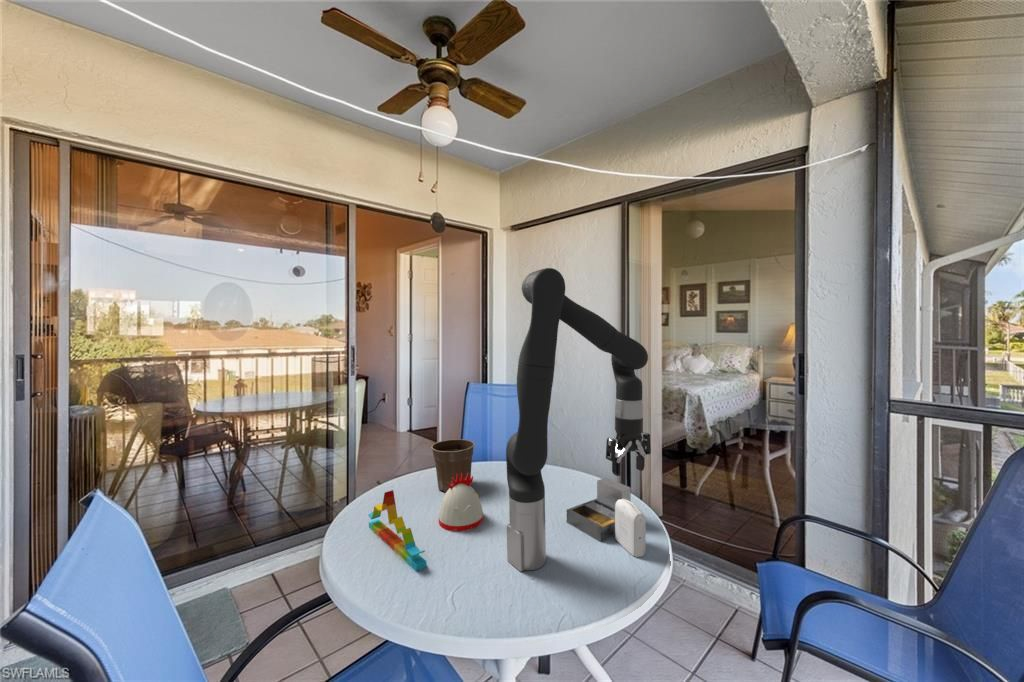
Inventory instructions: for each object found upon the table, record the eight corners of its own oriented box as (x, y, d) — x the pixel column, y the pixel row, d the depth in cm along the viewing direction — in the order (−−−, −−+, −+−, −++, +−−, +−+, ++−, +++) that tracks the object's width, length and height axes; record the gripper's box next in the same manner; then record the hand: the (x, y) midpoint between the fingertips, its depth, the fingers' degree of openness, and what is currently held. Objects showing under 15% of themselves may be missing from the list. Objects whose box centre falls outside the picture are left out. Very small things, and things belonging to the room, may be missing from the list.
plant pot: (430, 481, 161) (429, 441, 160) (470, 476, 165) (469, 436, 165) (435, 498, 145) (433, 453, 144) (479, 492, 150) (478, 448, 149)
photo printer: (648, 555, 107) (648, 509, 107) (634, 559, 106) (633, 512, 106) (626, 536, 117) (625, 494, 117) (612, 539, 116) (612, 496, 115)
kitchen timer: (487, 527, 124) (486, 478, 124) (441, 534, 120) (440, 484, 120) (478, 507, 138) (477, 463, 137) (436, 513, 134) (435, 468, 133)
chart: (427, 567, 105) (425, 510, 104) (416, 572, 103) (414, 514, 102) (379, 524, 128) (377, 477, 127) (368, 527, 126) (367, 480, 125)
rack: (600, 542, 114) (600, 503, 114) (566, 522, 126) (566, 487, 126) (640, 524, 124) (639, 488, 124) (605, 507, 136) (604, 474, 135)
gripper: (618, 420, 107) (618, 481, 108) (658, 414, 114) (657, 472, 114) (599, 415, 114) (599, 472, 114) (638, 409, 120) (637, 464, 121)
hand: (628, 472), depth 114 cm, fingers open, 8 cm apart
